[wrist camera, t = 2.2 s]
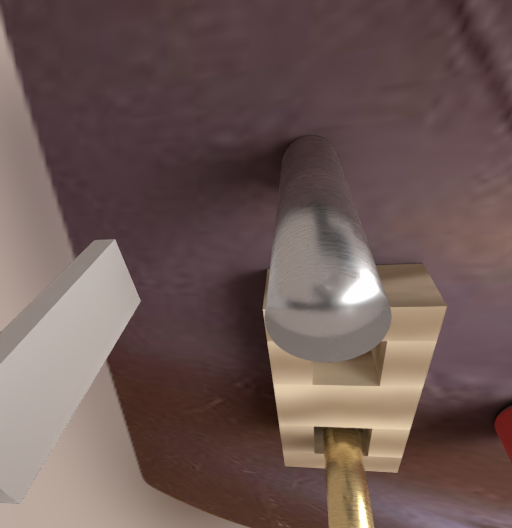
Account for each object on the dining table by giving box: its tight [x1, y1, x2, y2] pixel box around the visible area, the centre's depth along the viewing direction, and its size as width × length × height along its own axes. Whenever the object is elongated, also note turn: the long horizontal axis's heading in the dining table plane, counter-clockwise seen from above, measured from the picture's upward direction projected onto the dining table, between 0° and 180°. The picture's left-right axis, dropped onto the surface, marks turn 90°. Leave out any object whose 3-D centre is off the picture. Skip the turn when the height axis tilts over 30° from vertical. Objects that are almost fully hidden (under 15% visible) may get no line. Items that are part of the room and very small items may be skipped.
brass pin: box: [322, 427, 374, 528], centre depth 25 cm, size 3×3×12 cm
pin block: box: [263, 263, 447, 472], centre depth 25 cm, size 20×10×4 cm, turn 7°
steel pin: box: [264, 135, 392, 362], centre depth 13 cm, size 3×3×12 cm
